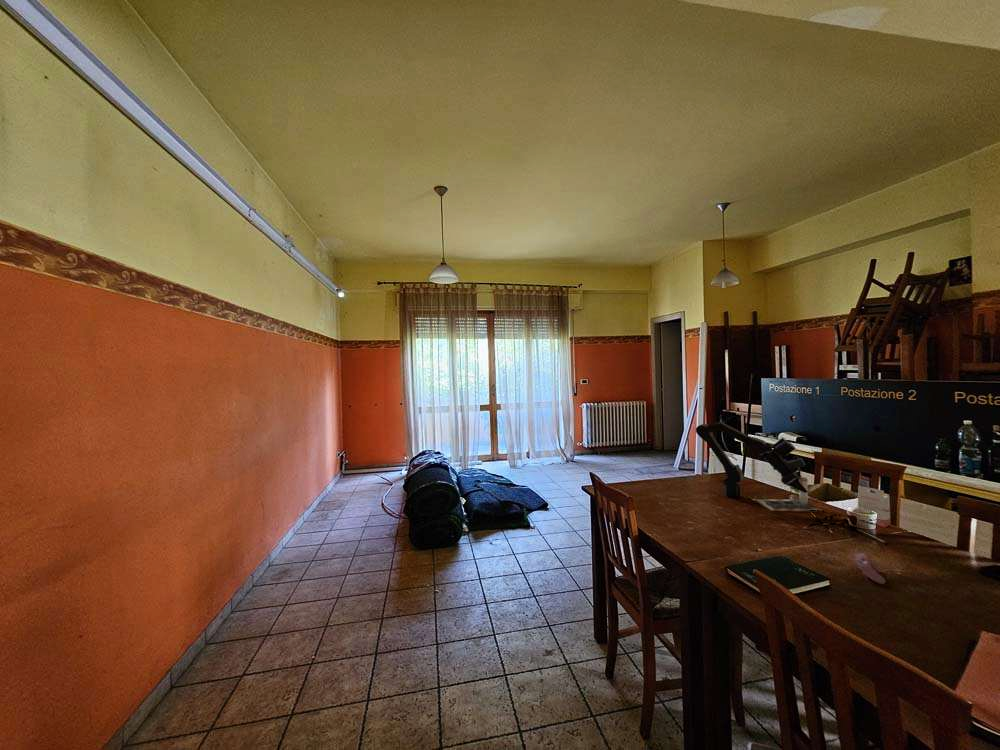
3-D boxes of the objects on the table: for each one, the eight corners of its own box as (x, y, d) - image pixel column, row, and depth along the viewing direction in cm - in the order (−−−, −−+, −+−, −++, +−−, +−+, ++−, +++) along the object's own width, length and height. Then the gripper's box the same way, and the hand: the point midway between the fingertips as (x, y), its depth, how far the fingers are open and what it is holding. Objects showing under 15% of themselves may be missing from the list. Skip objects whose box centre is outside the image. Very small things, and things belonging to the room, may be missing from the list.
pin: (804, 507, 168) (803, 479, 168) (797, 505, 171) (797, 477, 171) (809, 507, 169) (809, 478, 168) (803, 505, 172) (802, 477, 171)
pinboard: (772, 510, 168) (772, 502, 168) (756, 501, 180) (756, 494, 180) (816, 511, 167) (816, 503, 167) (797, 501, 178) (797, 494, 178)
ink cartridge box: (891, 525, 150) (890, 489, 150) (885, 527, 148) (884, 491, 148) (863, 517, 158) (862, 483, 158) (857, 520, 156) (856, 485, 156)
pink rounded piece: (863, 572, 120) (849, 550, 122) (881, 570, 117) (867, 547, 119) (868, 587, 112) (853, 563, 114) (887, 584, 110) (872, 560, 112)
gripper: (789, 455, 165) (823, 484, 158) (793, 448, 179) (824, 474, 172) (768, 470, 171) (799, 499, 163) (773, 462, 185) (802, 488, 177)
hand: (807, 489), depth 169 cm, fingers open, 9 cm apart
